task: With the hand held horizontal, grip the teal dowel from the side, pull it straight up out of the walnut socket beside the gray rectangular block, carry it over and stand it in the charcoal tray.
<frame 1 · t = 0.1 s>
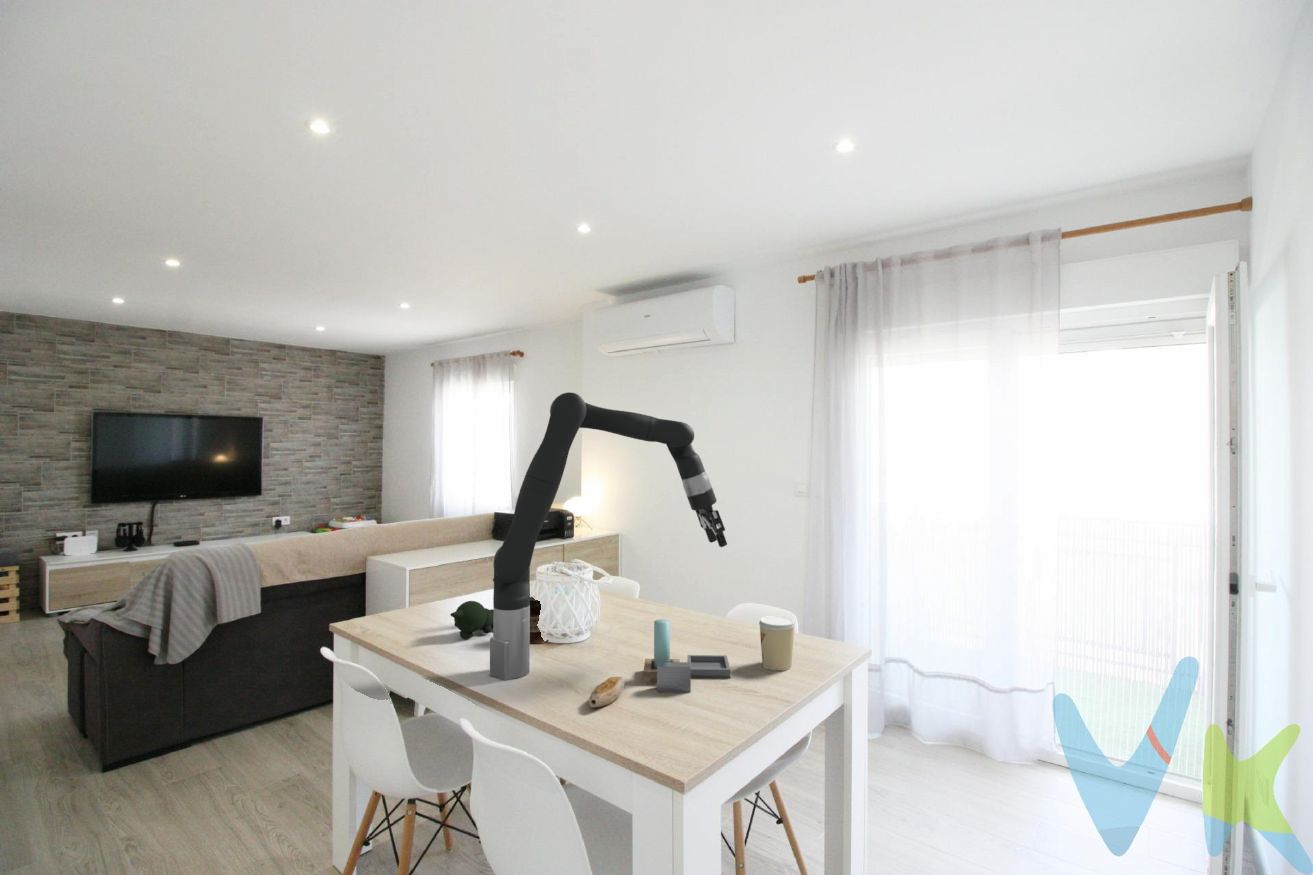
hand: (718, 543, 169), 31 cm above the table, tool tilted 20°, fingers open, 8 cm apart
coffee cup: (538, 641, 181), on the table
socket: (662, 676, 153), on the table
dowel: (662, 649, 153), in the socket
coffee cup 2: (777, 666, 161), on the table
toy figurine: (482, 633, 189), on the table
gray rectangular block: (673, 689, 145), on the table
tray: (708, 670, 157), on the table
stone: (606, 701, 139), on the table
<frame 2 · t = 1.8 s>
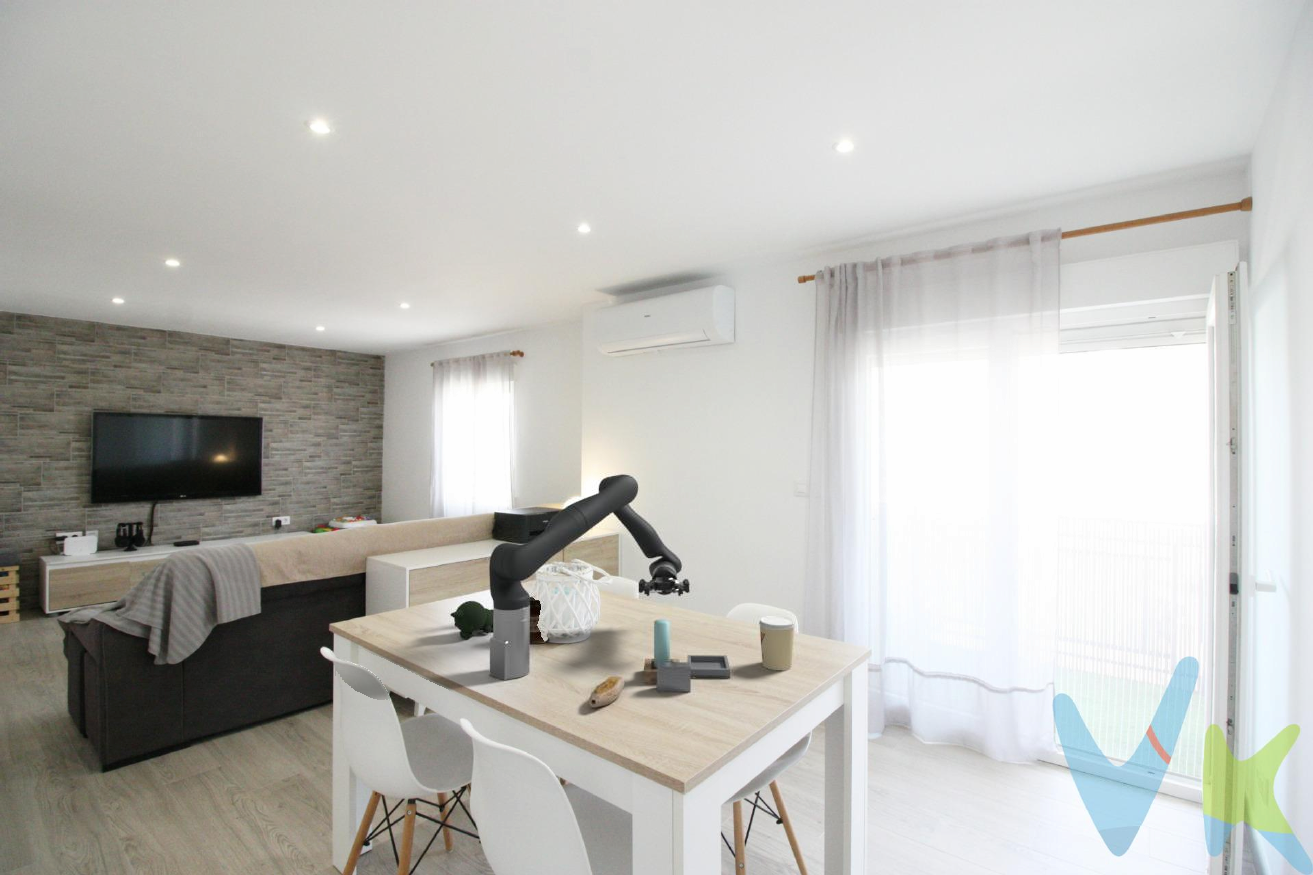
hand: (663, 592, 162), 19 cm above the table, tool horizontal, fingers open, 8 cm apart
nothing on the table moved.
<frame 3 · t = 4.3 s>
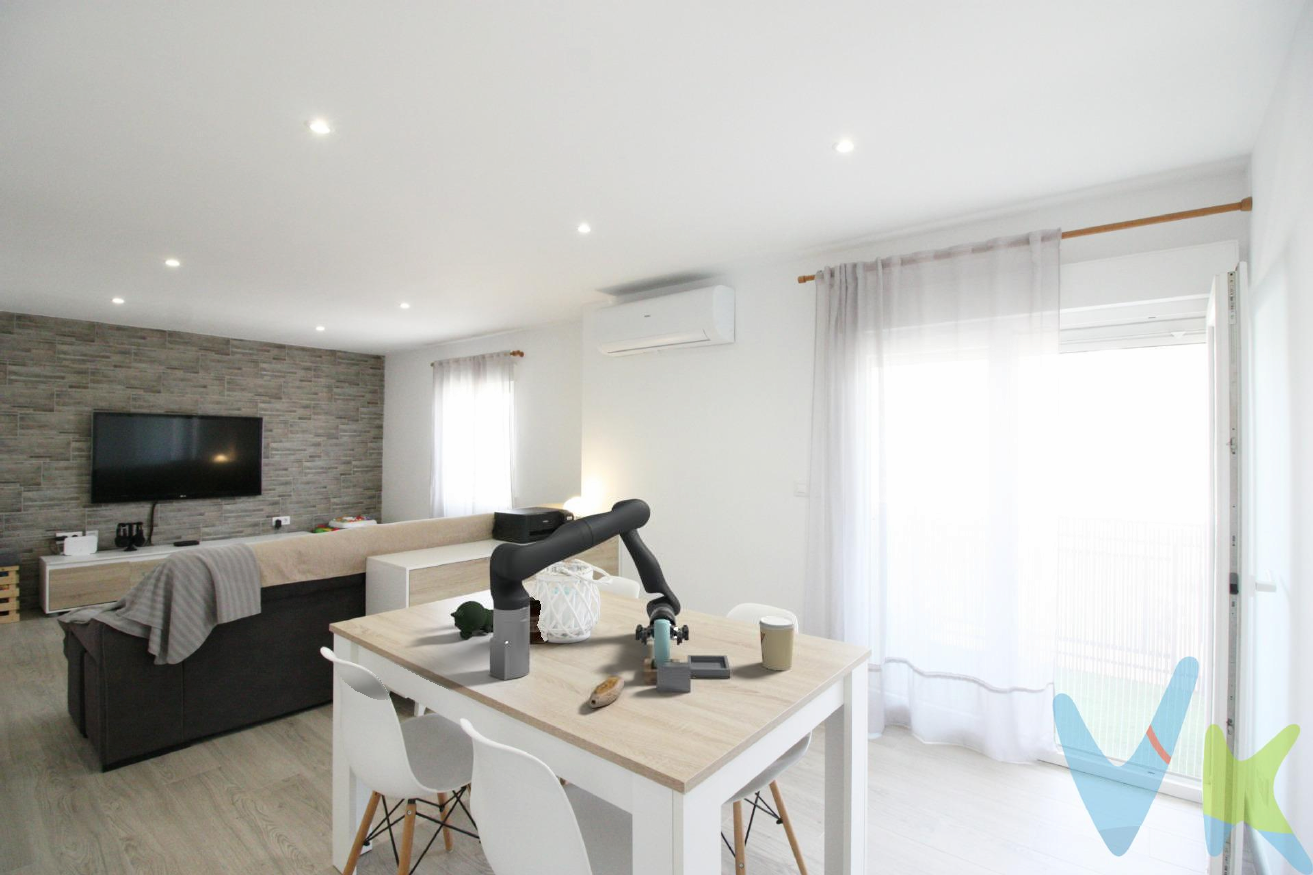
hand: (661, 640, 155), 8 cm above the table, tool horizontal, fingers open, 8 cm apart
nothing on the table moved.
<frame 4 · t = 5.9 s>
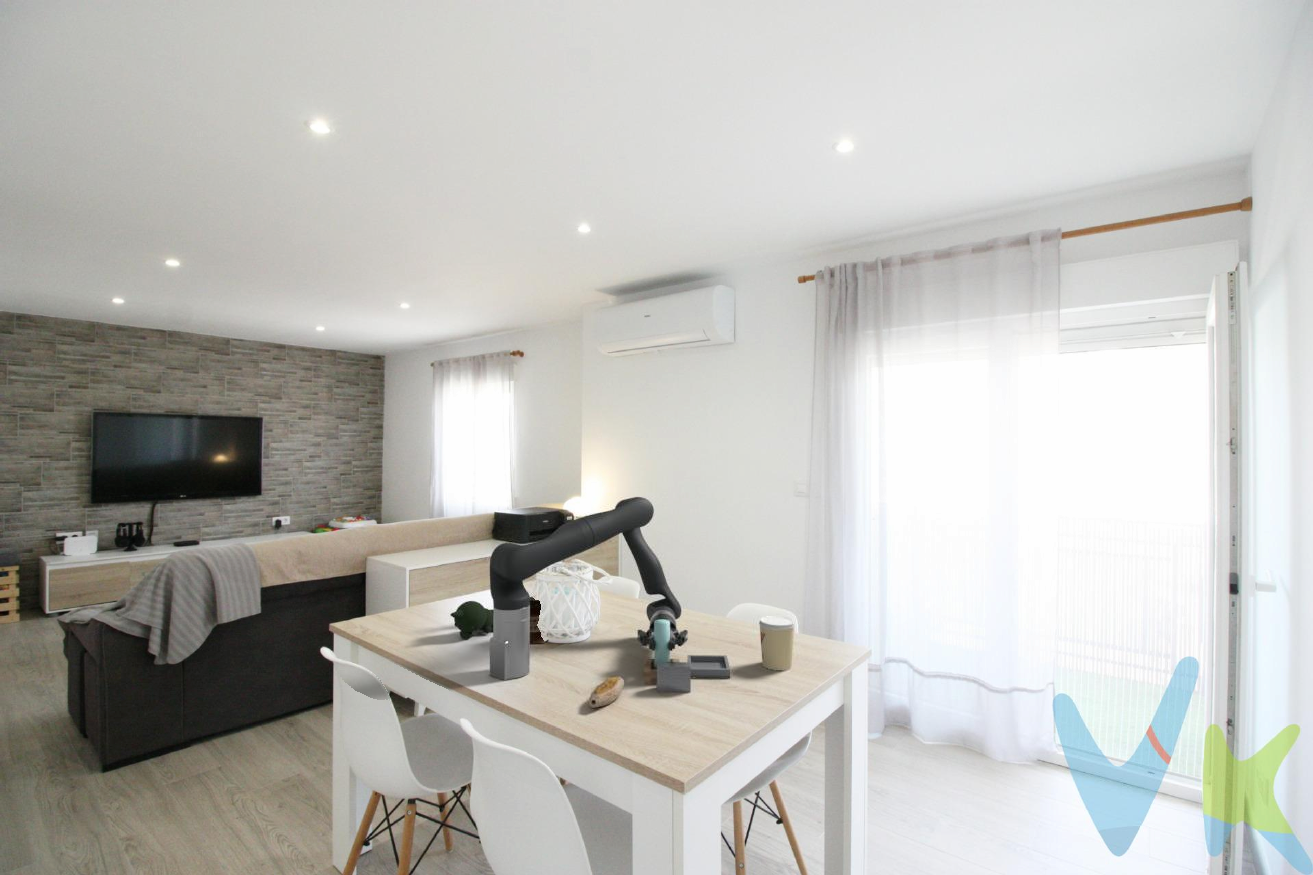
hand: (662, 646, 150), 9 cm above the table, tool horizontal, fingers closed on dowel, 4 cm apart
dowel: (662, 649, 153), in the socket, touching gripper
everything else where it was.
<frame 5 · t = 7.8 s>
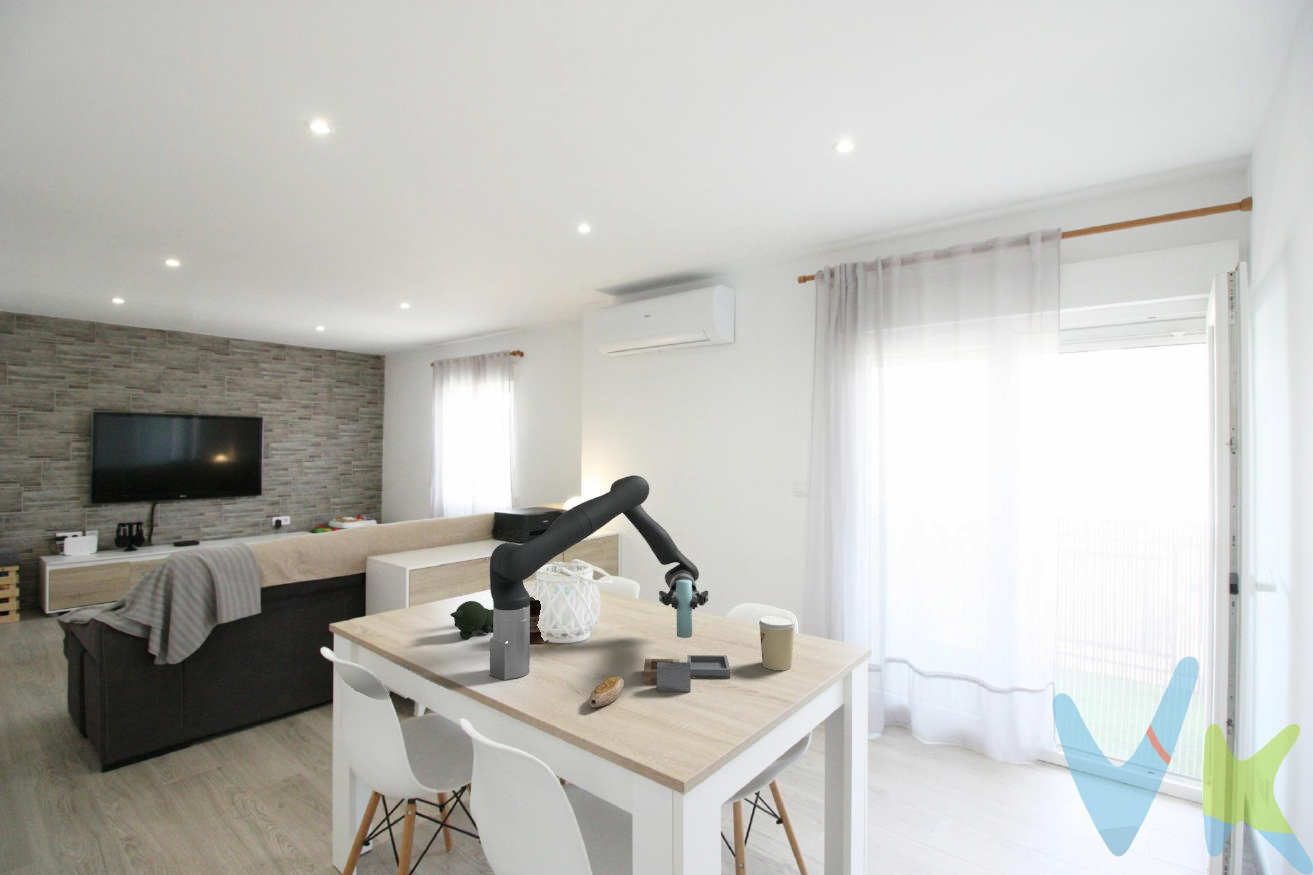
hand: (684, 605, 153), 18 cm above the table, tool horizontal, fingers closed on dowel, 4 cm apart
dowel: (684, 608, 156), point 17 cm above the table, touching gripper
everything else where it was.
when the fingers open (10 cm above the table, at t = 10.0 s): dowel drops 1 cm, resting on tray.
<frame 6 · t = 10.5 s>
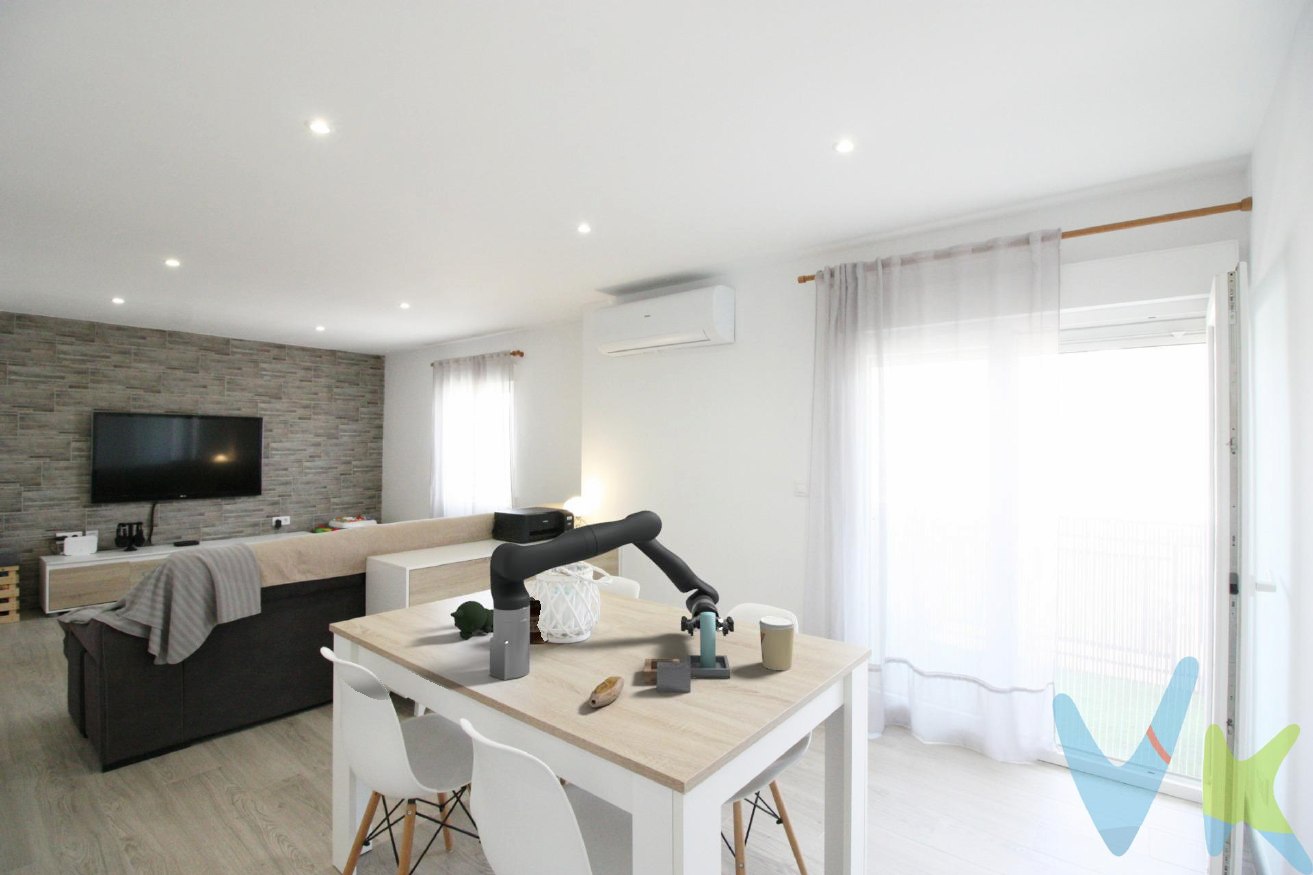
hand: (708, 632, 156), 11 cm above the table, tool horizontal, fingers open, 8 cm apart
dowel: (707, 640, 158), in the tray, point 8 cm above the table
everything else where it was.
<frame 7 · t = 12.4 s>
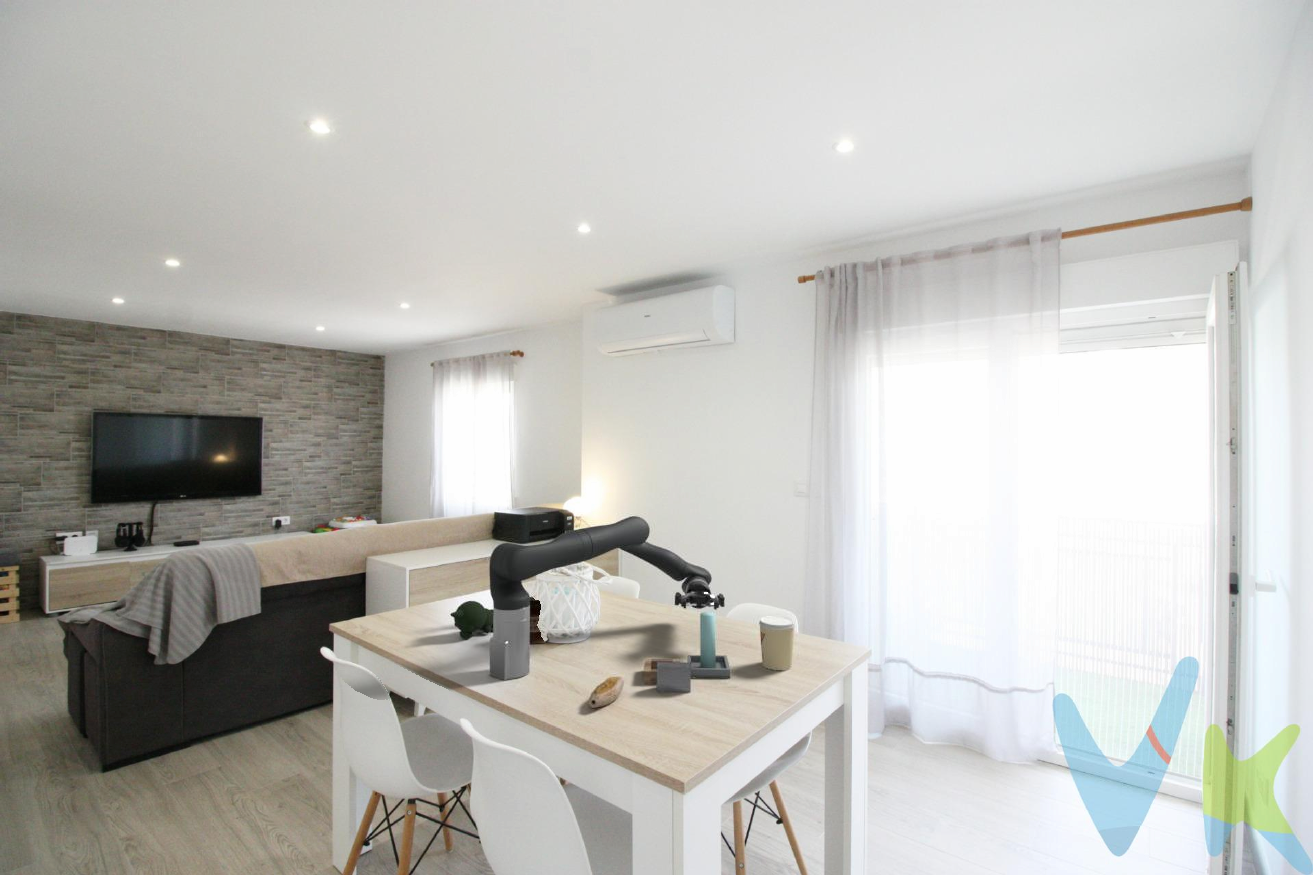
hand: (700, 605, 167), 15 cm above the table, tool horizontal, fingers open, 8 cm apart
nothing on the table moved.
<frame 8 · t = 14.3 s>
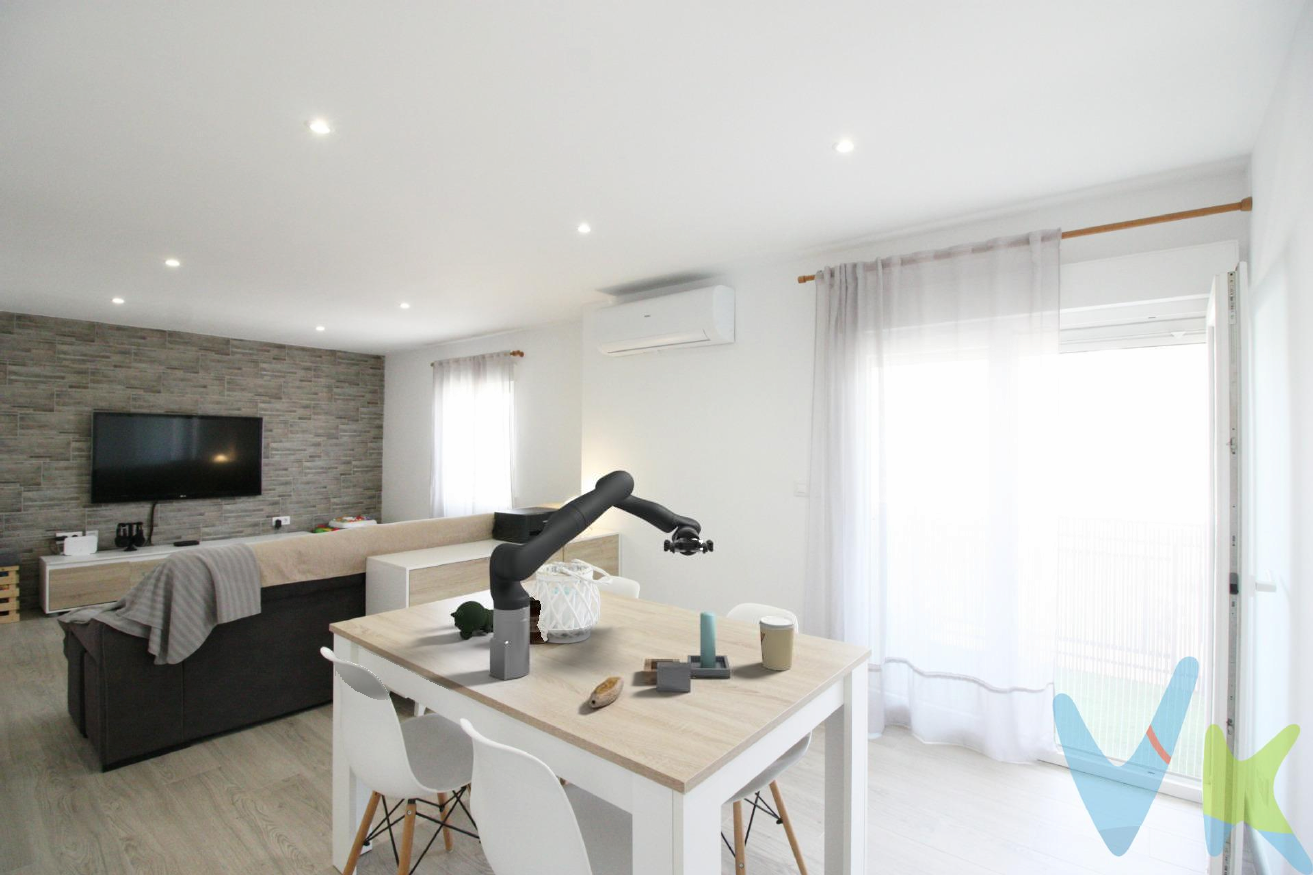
hand: (689, 549, 167), 30 cm above the table, tool horizontal, fingers open, 8 cm apart
nothing on the table moved.
at the end: dowel inside the target area on the tray (0.1 cm from its centre), point 7.6 cm above the tray's base; dowel tilted 0°; the gripper is holding nothing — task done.
